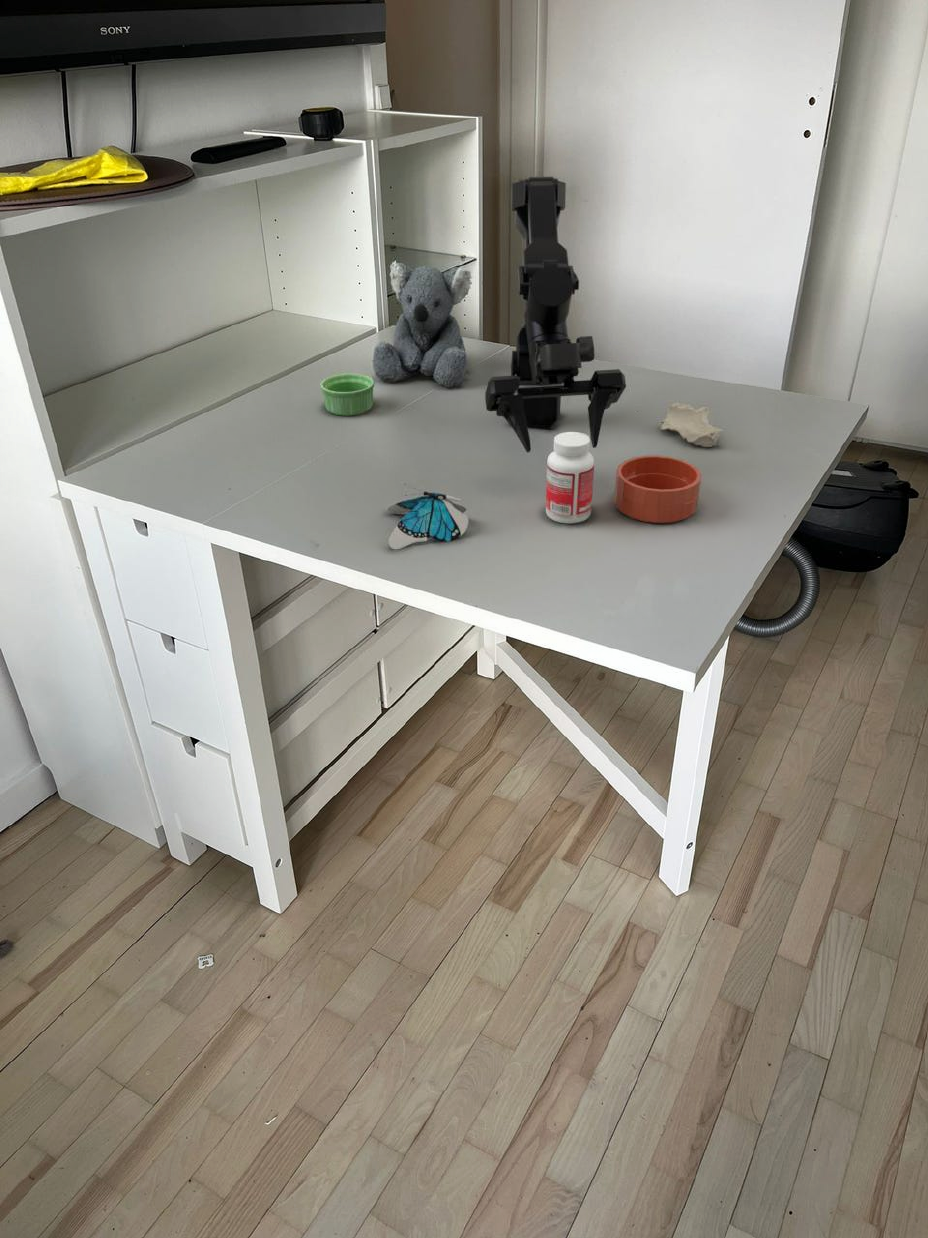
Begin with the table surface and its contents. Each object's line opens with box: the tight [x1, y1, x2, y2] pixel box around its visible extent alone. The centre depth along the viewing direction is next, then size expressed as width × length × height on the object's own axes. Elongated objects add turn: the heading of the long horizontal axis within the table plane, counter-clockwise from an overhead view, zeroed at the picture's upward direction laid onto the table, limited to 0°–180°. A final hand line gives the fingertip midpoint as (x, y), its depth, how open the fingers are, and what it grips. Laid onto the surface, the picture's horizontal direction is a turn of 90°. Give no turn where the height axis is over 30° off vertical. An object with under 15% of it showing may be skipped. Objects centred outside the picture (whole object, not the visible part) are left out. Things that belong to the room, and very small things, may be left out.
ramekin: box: [320, 373, 375, 417], centre depth 162 cm, size 9×9×4 cm
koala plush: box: [372, 260, 473, 388], centre depth 173 cm, size 17×18×20 cm
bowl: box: [613, 454, 702, 524], centre depth 131 cm, size 11×11×5 cm
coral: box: [660, 401, 723, 448], centre depth 150 cm, size 6×10×4 cm, turn 45°
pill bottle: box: [545, 431, 595, 524], centre depth 127 cm, size 6×6×11 cm
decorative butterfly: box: [387, 483, 469, 550], centre depth 126 cm, size 10×6×10 cm
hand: (562, 448), depth 130 cm, fingers open, 9 cm apart
